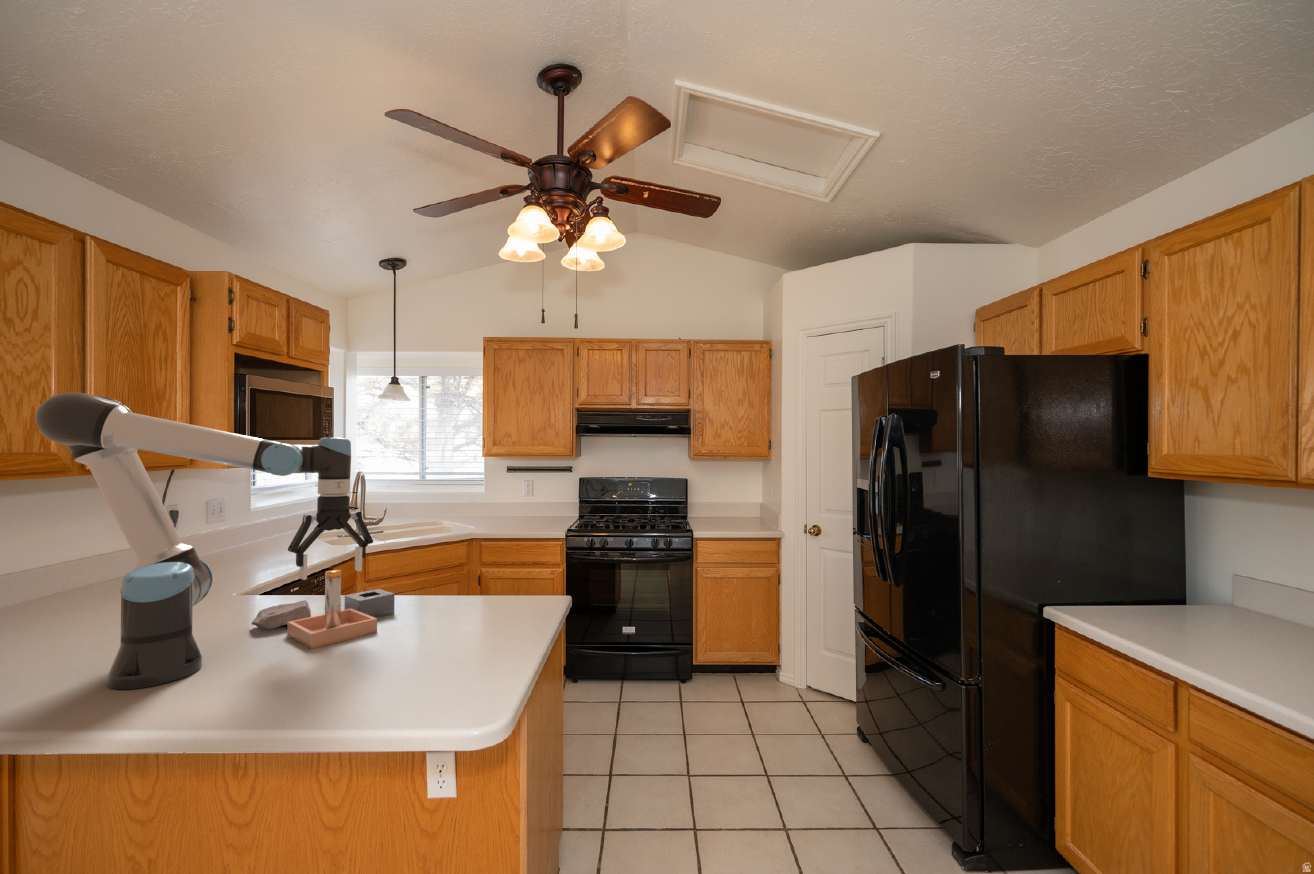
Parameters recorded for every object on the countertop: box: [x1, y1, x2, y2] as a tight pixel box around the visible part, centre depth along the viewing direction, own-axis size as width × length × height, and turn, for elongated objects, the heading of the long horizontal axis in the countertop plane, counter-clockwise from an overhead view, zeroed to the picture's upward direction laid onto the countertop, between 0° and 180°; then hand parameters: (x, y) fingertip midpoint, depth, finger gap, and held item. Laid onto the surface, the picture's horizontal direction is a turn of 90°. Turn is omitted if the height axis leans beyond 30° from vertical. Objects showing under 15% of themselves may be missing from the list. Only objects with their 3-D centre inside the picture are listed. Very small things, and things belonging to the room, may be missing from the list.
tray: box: [286, 608, 378, 649], centre depth 146 cm, size 16×16×4 cm
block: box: [343, 588, 395, 619], centre depth 164 cm, size 10×10×6 cm
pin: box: [324, 569, 342, 630], centre depth 147 cm, size 4×4×16 cm
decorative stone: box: [251, 599, 312, 630], centre depth 153 cm, size 13×10×6 cm
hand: (331, 574), depth 147 cm, fingers open, 13 cm apart
